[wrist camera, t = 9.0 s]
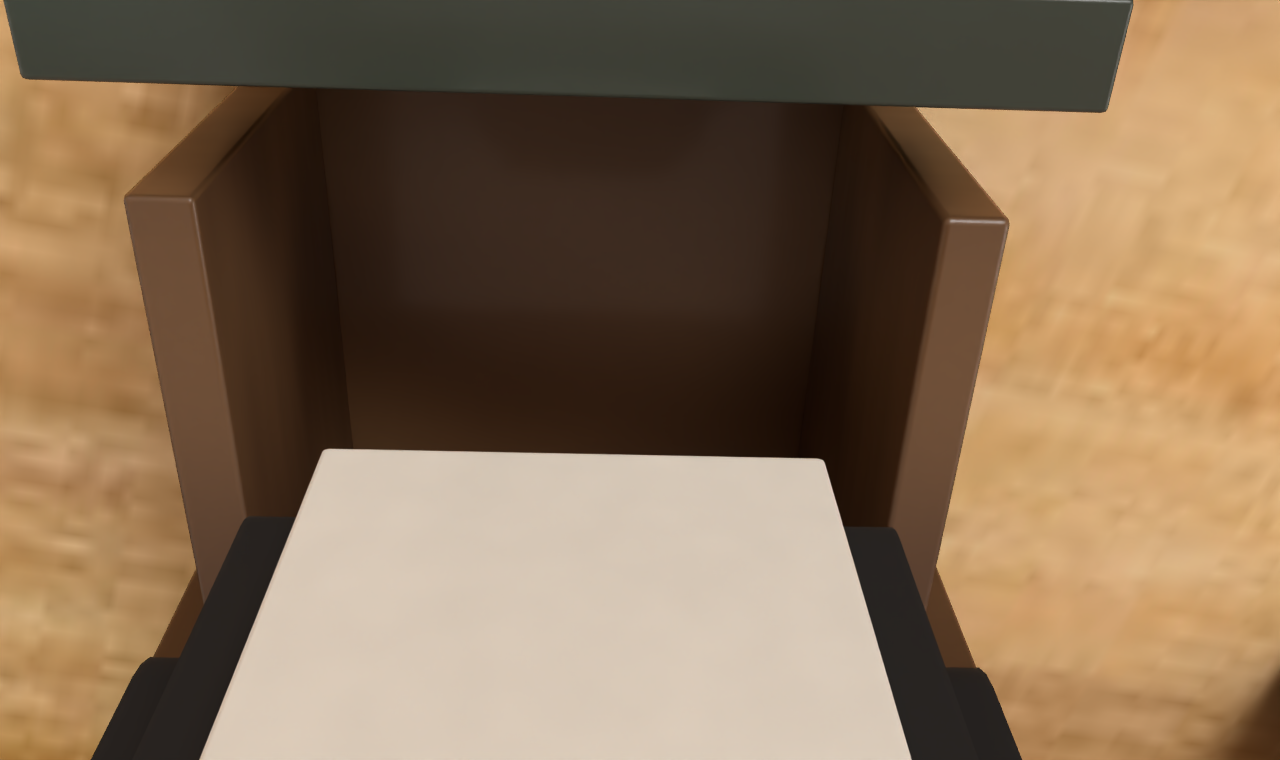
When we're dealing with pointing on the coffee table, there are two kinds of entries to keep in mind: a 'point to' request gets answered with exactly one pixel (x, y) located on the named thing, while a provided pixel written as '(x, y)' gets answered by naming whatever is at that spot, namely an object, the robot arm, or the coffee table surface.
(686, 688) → the block
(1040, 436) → the coffee table surface
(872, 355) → the drawer
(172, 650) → the cabinet
